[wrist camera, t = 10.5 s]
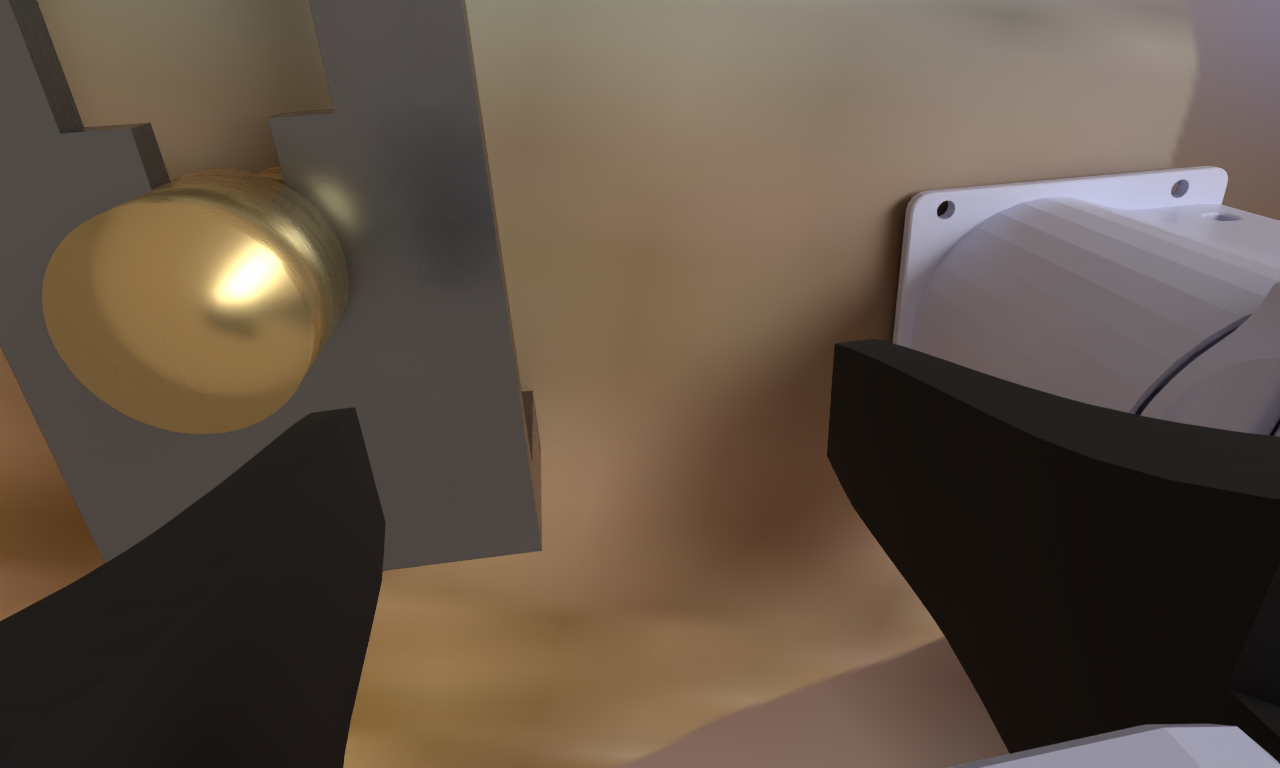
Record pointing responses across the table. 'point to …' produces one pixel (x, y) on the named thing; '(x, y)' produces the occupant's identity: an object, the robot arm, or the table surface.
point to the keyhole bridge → (377, 304)
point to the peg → (198, 300)
